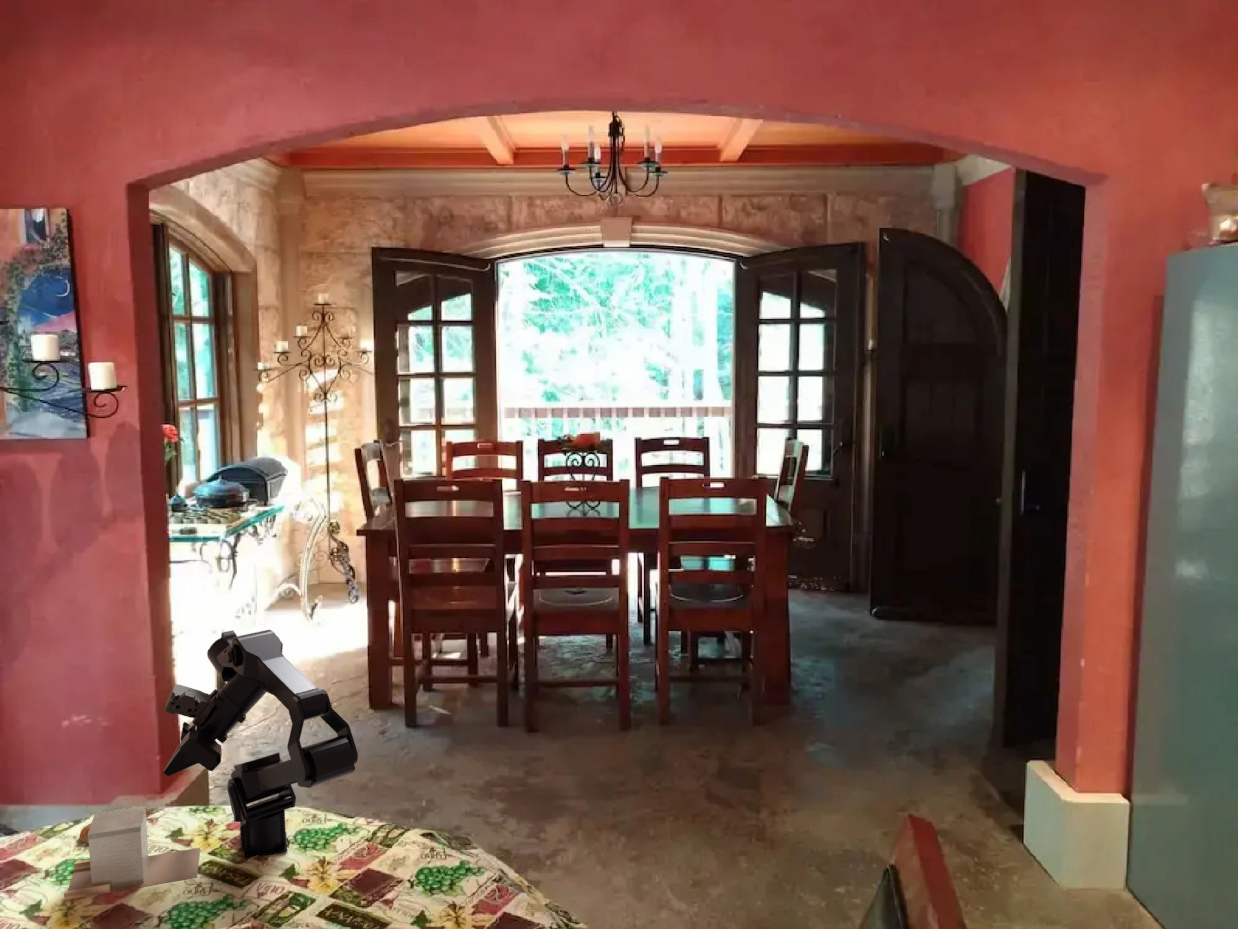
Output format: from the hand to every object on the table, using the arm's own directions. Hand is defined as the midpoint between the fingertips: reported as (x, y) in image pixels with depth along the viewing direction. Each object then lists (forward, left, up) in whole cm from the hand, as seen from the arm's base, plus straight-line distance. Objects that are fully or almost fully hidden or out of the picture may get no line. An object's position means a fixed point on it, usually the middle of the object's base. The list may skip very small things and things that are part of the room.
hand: (165, 773), depth 156 cm
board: (+5, +5, -14) cm, 15 cm away
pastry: (+9, -10, -14) cm, 20 cm away
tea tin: (+7, +5, -13) cm, 16 cm away
